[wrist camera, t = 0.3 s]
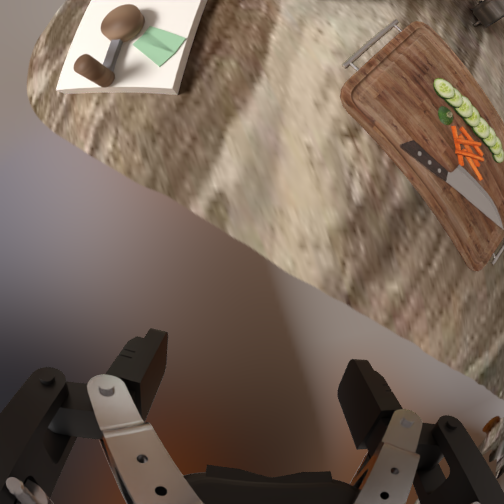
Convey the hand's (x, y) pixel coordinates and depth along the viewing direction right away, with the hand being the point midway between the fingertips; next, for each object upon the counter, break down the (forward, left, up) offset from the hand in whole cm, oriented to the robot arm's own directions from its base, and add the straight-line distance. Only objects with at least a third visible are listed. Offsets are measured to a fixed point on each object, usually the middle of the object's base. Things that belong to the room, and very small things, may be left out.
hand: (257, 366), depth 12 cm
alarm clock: (-57, +37, -29) cm, 74 cm away
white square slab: (-28, -24, -29) cm, 47 cm away
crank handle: (-24, -24, -25) cm, 42 cm away
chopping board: (-23, +31, -29) cm, 49 cm away
